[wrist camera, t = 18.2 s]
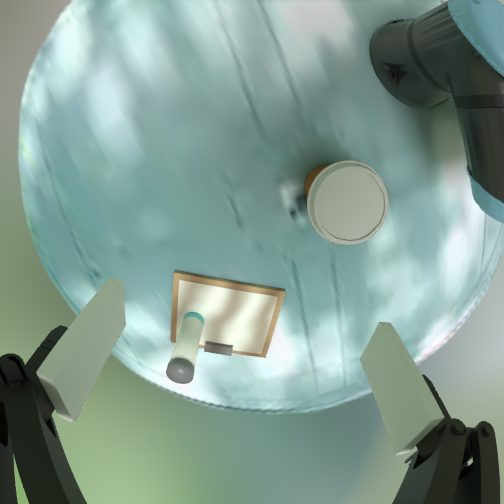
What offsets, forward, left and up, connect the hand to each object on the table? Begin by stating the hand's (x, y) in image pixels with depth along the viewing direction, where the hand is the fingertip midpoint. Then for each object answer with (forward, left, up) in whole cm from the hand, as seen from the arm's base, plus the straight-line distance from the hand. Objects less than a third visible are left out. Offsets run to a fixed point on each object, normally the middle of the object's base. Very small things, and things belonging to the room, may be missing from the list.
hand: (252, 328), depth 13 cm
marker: (+6, +22, -28) cm, 36 cm away
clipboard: (+1, +21, -29) cm, 36 cm away
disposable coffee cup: (-10, -4, -29) cm, 31 cm away
